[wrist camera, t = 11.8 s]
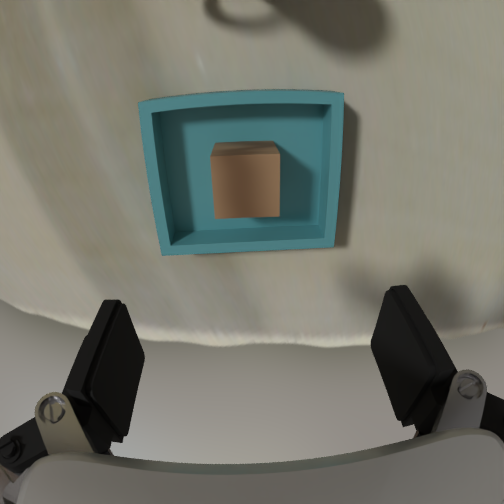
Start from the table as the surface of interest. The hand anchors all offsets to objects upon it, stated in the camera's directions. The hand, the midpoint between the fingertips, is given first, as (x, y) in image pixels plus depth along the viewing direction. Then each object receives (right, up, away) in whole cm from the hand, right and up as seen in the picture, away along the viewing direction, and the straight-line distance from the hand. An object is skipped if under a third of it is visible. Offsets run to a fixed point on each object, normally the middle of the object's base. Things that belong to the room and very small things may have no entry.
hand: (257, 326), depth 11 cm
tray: (-1, +10, +17) cm, 20 cm away
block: (-1, +10, +16) cm, 19 cm away
